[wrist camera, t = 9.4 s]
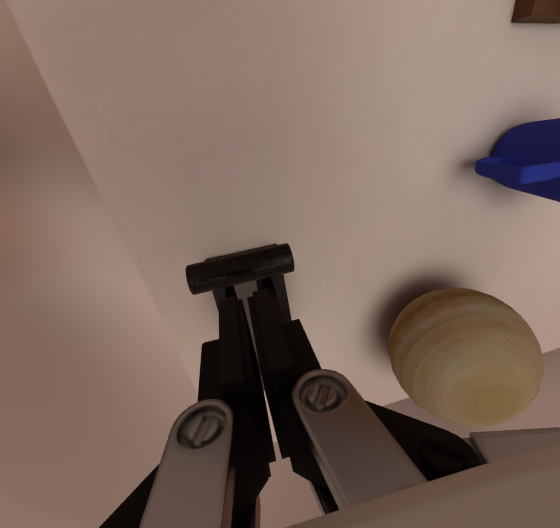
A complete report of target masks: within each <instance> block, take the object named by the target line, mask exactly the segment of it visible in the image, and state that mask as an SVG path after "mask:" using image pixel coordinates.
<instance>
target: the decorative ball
mask: <svg viewBox="0 0 560 528" xmlns="http://www.w3.org/2000/svg"><path fill="white" fill-rule="evenodd" d="M389 357H390V361H391V366H392V370H393V372H394V374H395V376H396V378H397V380H398V382H399V384H400V386H401V387H402V389H403V390H404V391H405V392H406V393H407V394H408V395H409V397H410V398H411V399H412V400H413V401H414V402H415V403H416V404H418V405H419V406H420V407H421V408H423V409H425V410H426V411H427V412H428V413H430V414H431V415H433V416H435V417H437V418H440V419H442V420H445V421H447V422H450V423H453V424H457V425H461V426H469V427H472V426H473V427H480V426H481V427H482V426H484V427H485V426H493V425H497V424H500V423H504V422H506V421H509V420H511V419H513V418H514V417H516V416H518V415H519V414H520V413H521V412H522V411H524V410H525V409H526V408H527V407H528V406H529V404H530V403H531V402H532V401H533V400H534V398H535V397H536V395H537V393H538V391H539V388H540V385H541V381H542V377H543V358H542V352H541V349H540V345H539V342H538V341H537V339H536V337H535V335H534V333H533V331H532V330H531V328H530V326H529V325H528V323H527V322H526V321H525V320H524V319H523V318H522V317H521V316H520V315H519V314H518V313H517V312H516V311H515V310H514V309H513V308H512V307H510V306H508V305H507V304H505V303H504V302H502V301H500V300H499V299H497V298H495V297H493V296H491V295H488V294H485V293H482V292H479V291H475V290H472V289H465V288H446V289H439V290H434V291H430V292H428V293H425V294H423V295H421V296H419V297H417V298H416V299H414V300H412V301H411V302H410V303H409V304H408V305H406V306H405V307H404V309H403V310H402V311H401V312H400V313H399V315H398V317H397V318H396V320H395V322H394V324H393V326H392V329H391V332H390V336H389Z"/></svg>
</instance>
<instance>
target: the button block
mask: <svg viewBox="0 0 560 528" xmlns="http://www.w3.org/2000/svg"><path fill="white" fill-rule="evenodd" d="M512 22H518V23H560V0H516V4H515V8H514V13H513V18H512Z"/></svg>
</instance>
